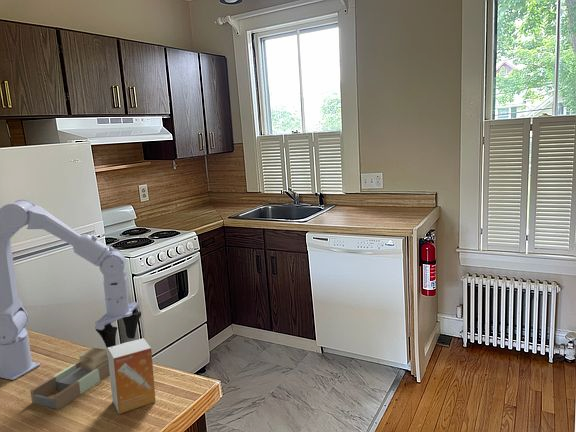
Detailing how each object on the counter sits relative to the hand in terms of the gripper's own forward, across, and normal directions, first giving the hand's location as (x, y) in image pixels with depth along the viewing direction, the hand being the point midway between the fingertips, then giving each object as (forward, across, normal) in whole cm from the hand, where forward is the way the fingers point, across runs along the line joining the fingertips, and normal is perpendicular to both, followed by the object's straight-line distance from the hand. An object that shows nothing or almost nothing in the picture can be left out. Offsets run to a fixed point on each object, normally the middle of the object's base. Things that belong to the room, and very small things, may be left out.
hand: (121, 343), depth 119 cm
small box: (+3, -17, -18) cm, 25 cm away
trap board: (+3, -15, 0) cm, 15 cm away
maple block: (+1, -10, 0) cm, 10 cm away
